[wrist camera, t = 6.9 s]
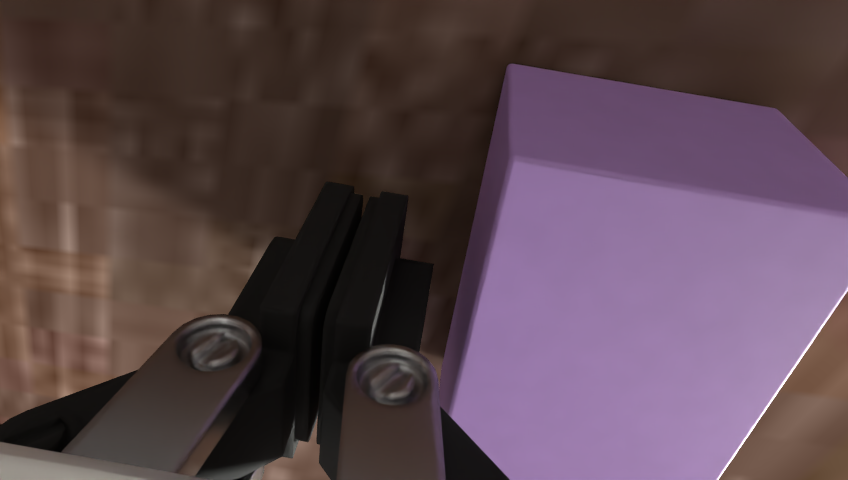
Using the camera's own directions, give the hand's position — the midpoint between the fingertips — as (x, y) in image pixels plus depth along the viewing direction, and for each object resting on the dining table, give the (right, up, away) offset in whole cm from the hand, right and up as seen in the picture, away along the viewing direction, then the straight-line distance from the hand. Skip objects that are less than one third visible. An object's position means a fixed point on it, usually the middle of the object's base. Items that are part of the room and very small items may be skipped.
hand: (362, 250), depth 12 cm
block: (+5, 0, +1) cm, 5 cm away
